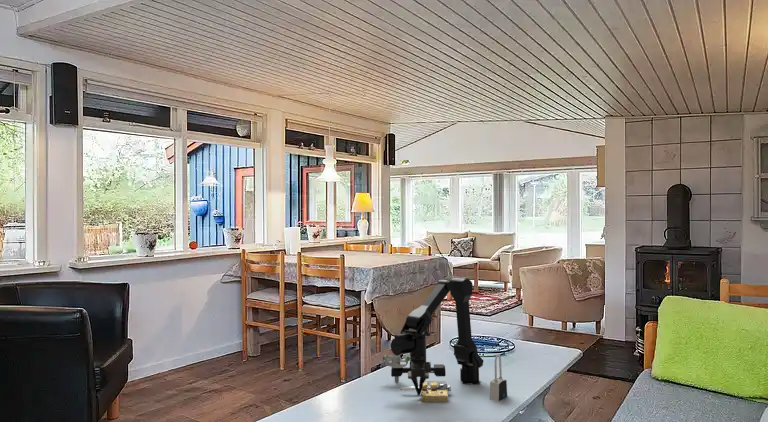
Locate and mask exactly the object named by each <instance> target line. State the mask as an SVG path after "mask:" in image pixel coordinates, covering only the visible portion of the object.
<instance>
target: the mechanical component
mask: <svg viewBox="0 0 768 422" xmlns="http://www.w3.org/2000/svg"><path fill="white" fill-rule="evenodd" d="M382 361H384V365H385V366H386V367H392V366H393V365H403V367H407V366H408V364H409V362H410V356H408V355H406V356H405V358H404V359H402V357H401V355H394V354H385V355H383V356H382ZM399 382H400V377H394V383H396V384H397V383H399Z"/></svg>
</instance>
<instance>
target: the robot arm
mask: <svg viewBox="0 0 768 422" xmlns="http://www.w3.org/2000/svg"><path fill="white" fill-rule="evenodd" d="M449 293H450V295H451V297H452V299H453V301H454V302H455V303H454V304H455V312H456V325H457V326H456V327H457V334H458V335H457V336H458V337H457V338H458V340H457V342H456V344H453V355H454V357H455V359H456V361H457V365H460V366H461V368H459V374H460V375H459V378H460V381H461V383H462V384H463V385H465V384H466V385H467V384H468V385H470V384H471V385H472V384H473V385H475V384H476V385H477V384H478V385H479V384H481V381H480V368H482V367H483V365H484V360H483V358H482V357H481V355H480V354H479V352H478V347H477V345H476V344H475V341H474V340H473V337H472V325H471V324H472V323H471V314H470V313H471V310H470V299H471V298H472V296H473V282H472V281H471V280H470V279H469V278H464V277H463V278H462V277H453V278H452V279H439V280H438V281H437V284H436V286H435V287H434V289H432V291H431V292H430V293H429V295H428V296H427V298H426V299H425V300H424V301H423V302H422V304H421V305H420V306H419V307H418V308H415V309H413V310H412V311H411V312H410V313H409V314H408V315H407V317H406V319H405V322H404V324H403V326H402V328H401V330H400V331H399V332H400V333H399V334H398V333H397V334H394V338H393V339H391V342H390V349H391V353H392V355H400V356H402V355H406V354H409V357H410V361H409V367H407V366H405V367H403V365H393V366H391V369H390V373H391V374H390V375H391V377H393V378H395V377H399V378H400V377H401V376H403V374H407V379H410V380H411V381H412V383H413V387H415V389H416V390H415V391H416V394H417V396H421V390H422V387H423V384H424V381H427V379H430V374H434V376H436V377H446V373H447V372H446V365H445V364H443V363H442V364H440V363H438V364H437V363H435V364H433V367H432V364H431V363H432V362H431V361H427V337H430V336H431V333H430V332H428V331H427V330H428V328H429V327H430V325H431V323H432V317H433V314H434V312H435V311H436V310H437V308H438V307H439V306H440V305H441V303H442V302H443V301H444V299H445V298H446V297H447V295H448V294H449ZM418 378H419V380H418ZM418 381H419V382H418ZM418 387H419V388H418Z"/></svg>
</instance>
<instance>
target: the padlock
mask: <svg viewBox="0 0 768 422" xmlns="http://www.w3.org/2000/svg"><path fill="white" fill-rule="evenodd" d="M501 357H502V356H501V355H500V354H496V355H495V358H494V378H493V379H492V380H491V381H489V400H490V401H495V402H501V401H503V400H505V399H506V398H507V397H508V383H507V381H508V380H507V379H504V378H503V375H502V374H503V373H502V372H503V371H502V358H501ZM497 361H498V363H497ZM497 364H498V365H499V366H498V365H497ZM498 367H499V368H498ZM498 369H499V377H498V373H497V372H498V371H497V370H498Z"/></svg>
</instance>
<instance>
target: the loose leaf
mask: <svg viewBox="0 0 768 422" xmlns="http://www.w3.org/2000/svg"><path fill="white" fill-rule="evenodd" d="M423 387H428V386H427V382H424V384H423ZM431 387H437V382H431ZM420 396H421V402H426V403H427V402H429V403H430V402H431V403H432V402H433V403H434V402H435V403H437V402H438V403H441V402H442V403H444V402H445V403H448V402H449V394H448V390H437V389H431V390H428V389H422V390H421V393H420Z"/></svg>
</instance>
